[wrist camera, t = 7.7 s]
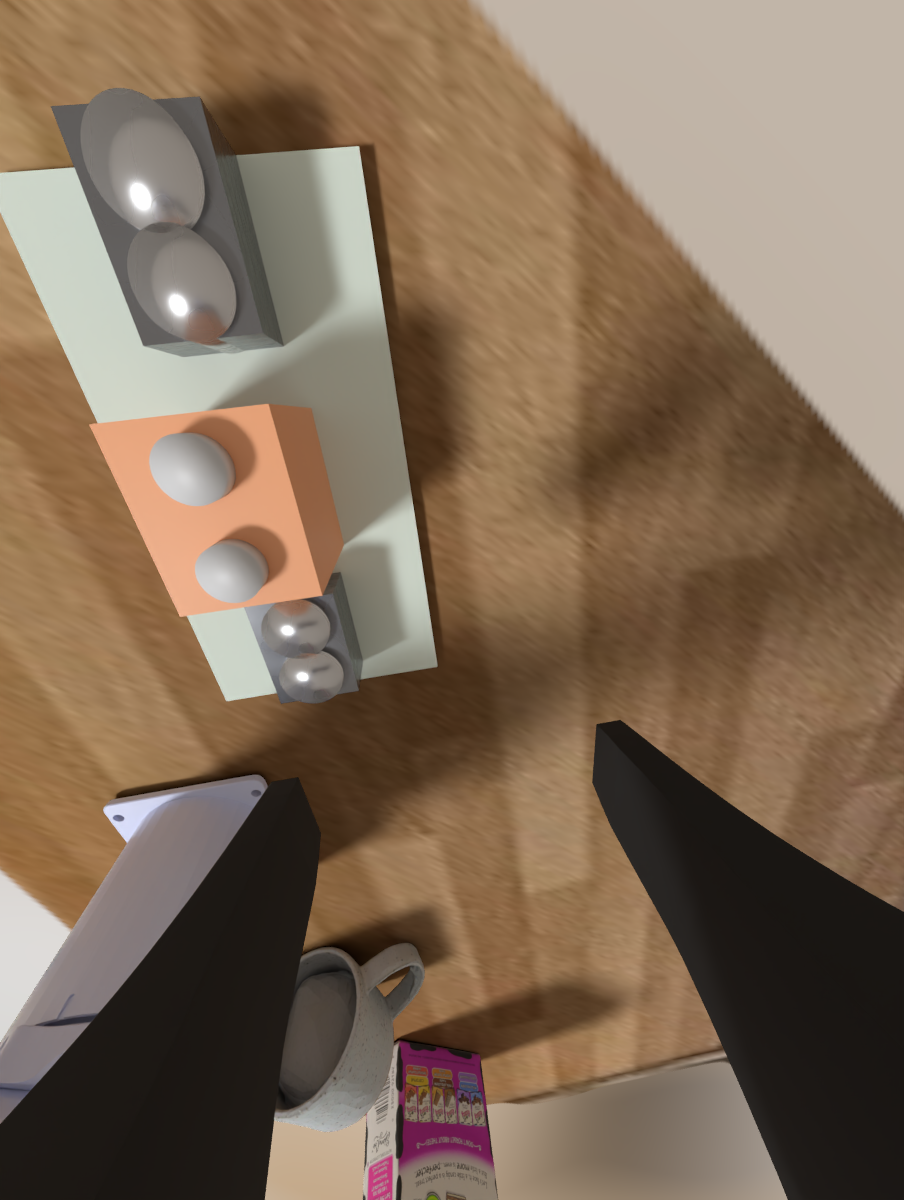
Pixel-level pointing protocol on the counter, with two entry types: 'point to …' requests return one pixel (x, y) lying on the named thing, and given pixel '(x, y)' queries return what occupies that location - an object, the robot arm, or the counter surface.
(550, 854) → the counter surface
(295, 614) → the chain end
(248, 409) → the orange block with knobs
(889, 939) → the robot arm
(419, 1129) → the candy bar box
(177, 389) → the mat
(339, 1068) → the ceramic mug
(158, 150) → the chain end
